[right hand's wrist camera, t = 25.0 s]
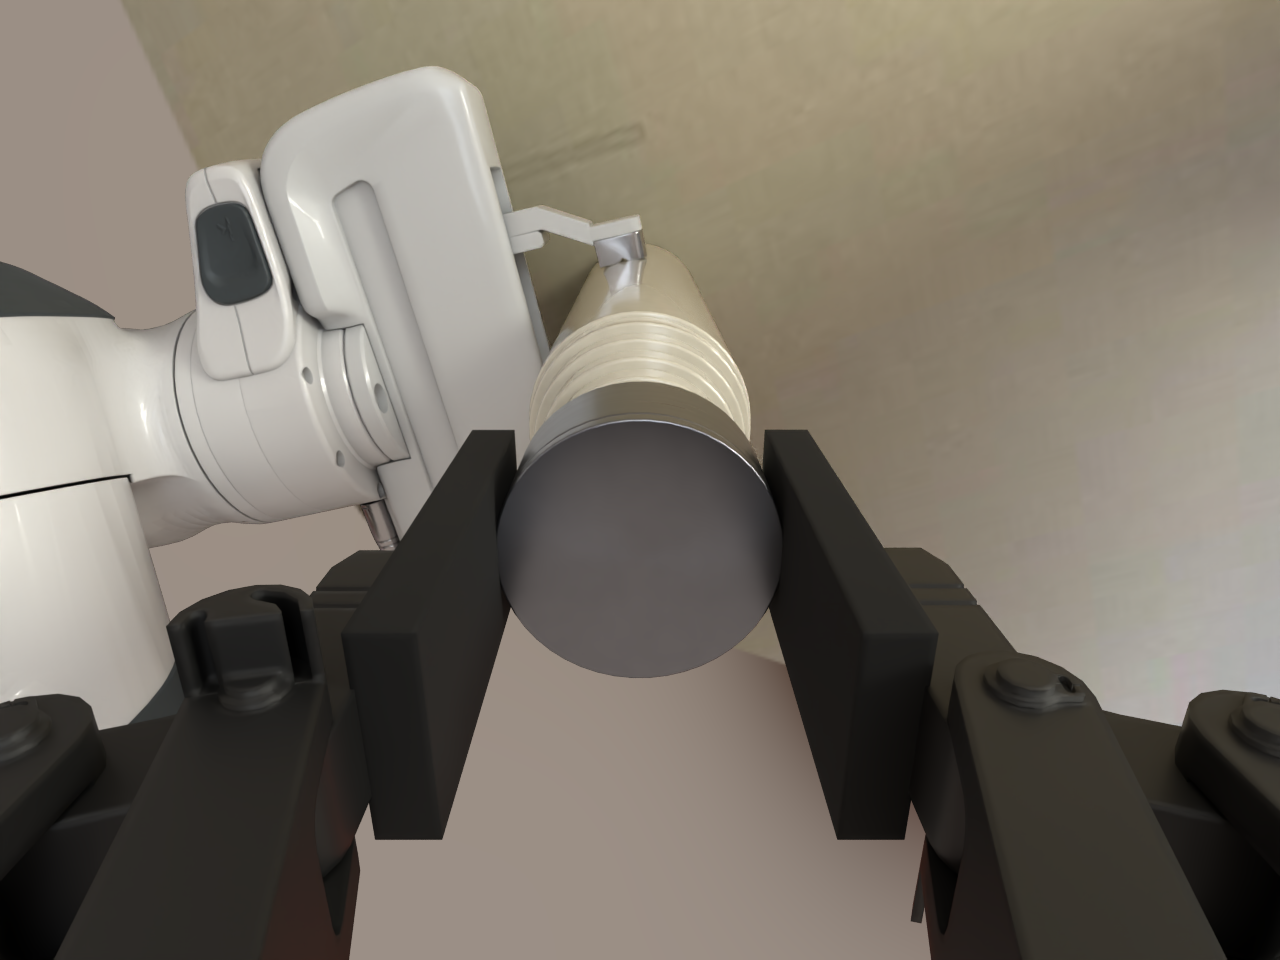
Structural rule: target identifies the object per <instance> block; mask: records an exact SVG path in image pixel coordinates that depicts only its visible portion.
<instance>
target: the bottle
mask: <svg viewBox="0 0 1280 960" xmlns="http://www.w3.org/2000/svg"><path fill="white" fill-rule="evenodd" d="M645 245H646V250H647V257H644V258H641V259H638V260H630V261H628V260H626V259H622V260H621V261H620V262H619V263H617V264H615V265H612V266H607V267H603V268H600V265H599V261H598V262H597V263H596V264H595V265H594V267H593V268H592V269H591V271H590V273H589V274H588V276H587V278H586V280H585V282H584V284H583V286H582V288H581V290H580V292H579V294H578V296H577V298H576V300H575V302H574V304H573V306H572V308H571V310H570V312H569V314H568V316H567V318H566V320H565V322H564V324H563V326H562V328H561V330H560V332H559V334H558V336H557V338H556V340H555V342H554V344H553V346H552V348H551V350H550V352H549V354H548V356H547V358H546V360H545V362H544V364H543V366H542V368H541V370H540V372H539V374H538V377H537V379H536V381H535V384H534V387H533V391H532V395H531V399H530V408H529V438H530V441H531V440H532V438H533V436H534V435H535V434H536V432H537V431H538V430H539V428H540V427H541V426H542V424H543V423H544V422H545V421H546V420H547V419H548V418H549V417H550V416H551V415H552V414H553V413H555V412H556V411H557V410H558V409H560V408H561V407H562V406H564V405H565V404H566V403H568V402H570V401H571V400H573V399H575V398H576V397H578V396H580V395H582V394H584V393H587V392H589V391H592V390H594V389H596V388H600V387H604V386H608V385H611V384H617V383H624V382H655V383H664V384H668V385H672V386H676V387H680V388H683V389H685V390H688V391H690V392H693V393H695V394H698V395H699V396H701V397H703V398H705V399H707V400H708V401H710V402H712V403H713V404H715V405H716V406H717V407H719V408H720V409H721V410H723V411H724V412H725V413H726V414H727V415H728V416H729V417H730V418H731V419H732V420H733V421H734V422H735V423H736V424H737V425H738V426H739V428H740V429H741V430H742V432H743V433H744V434H745V435H746V437H747V439H748V440H749V442H750V431H751V425H750V422H751V414H750V402H749V397H748V392H747V389H746V386H745V383H744V380H743V377H742V375H741V373H740V371H739V369H738V367H737V365H736V363H735V361H734V359H733V357H732V355H731V353H730V351H729V349H728V347H727V345H726V343H725V341H724V339H723V337H722V335H721V333H720V331H719V329H718V327H717V325H716V323H715V321H714V319H713V317H712V315H711V313H710V311H709V309H708V307H707V305H706V303H705V301H704V299H703V297H702V295H701V293H700V291H699V289H698V287H697V285H696V283H695V281H694V279H693V277H692V275H691V273H690V271H689V270H688V269H687V267H686V266H685V265H684V263H683V262H682V261H681V260H680V259H679V258H677V257H676V256H675V255H674V254H672V253H671V252H669V251H667V250H665V249H663V248H661V247H658V246H655V245H650V244H645Z"/></svg>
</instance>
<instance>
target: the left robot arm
mask: <svg viewBox="0 0 1280 960" xmlns="http://www.w3.org/2000/svg"><path fill="white" fill-rule="evenodd" d="M185 200H186V211H187V219H188V227H189V235H190V244H191V252H192V262H193V272H194V284H195V297H196V309H195V310H193V311H191V312H189V313H187V314H185V315H184V316H182V317H180V318H178V319H177V320H175V321H173V322H171V323H168V324H166V325H164V326H159V327H155V328H151V329H144V330H139V329H126V328H120V327H118V326H117V325H116V323H115V322H114V319H115V317H113V316H112V315H111V314H109V313H108V312H106V311H105V310H103V309H102V308H100V307H98V306H97V305H95V304H93V303H92V302H90V301H88V300H86V299H84V298H82V297H80V296H78V295H76V294H74V293H72V292H70V291H68V290H66V289H64V288H62V287H60V286H58V285H56V284H53V283H51V282H49V281H47V280H45V279H43V278H41V277H39V276H37V275H35V274H33V273H30V272H28V271H26V270H24V269H21V268H18V267H16V266H13V265H10V264H7V263H3V262H0V703H3V702H6V701H9V700H10V702H11V701H14V699H18V698H23V697H27V696H39V695H49V694H64V695H71V696H77V697H80V698H82V699H83V700H84V701H85V702H87V703H88V704H89V705H90V706H91V707H92V710H93V713H94V716H95V720H96V723H97V726H98V729H99V730H102V729H107V728H112V727H118V726H123V725H128V724H133V723H138V722H143V721H148V720H153V719H158V718H162V717H166V716H170V715H174V714H177V712H178V710H179V708H180V706H181V704H182V702H183V700H184V698H185V697H184V694H183V690H182V686H181V682H180V678H179V675H178V671H177V667H176V663H175V659H174V656H173V652H172V648H171V644H170V641H169V637H168V633H167V629H166V626H167V625H168V624H169V623H170V620H169V616H168V613H167V609H166V606H165V603H164V599H163V596H162V592H161V589H160V585H159V582H158V579H157V575H156V572H155V568H154V565H153V562H152V558H151V555H150V551H149V548H153V547H158V546H163V545H167V544H172V543H176V542H179V541H183V540H185V539H188V538H190V537H192V536H194V535H196V534H198V533H200V532H201V531H203V530H205V529H207V528H209V527H211V526H213V525H216V524H220V523H228V522H235V523H245V524H265V523H271V522H277V521H282V520H287V519H291V518H296V517H300V516H305V515H310V514H315V513H320V512H325V511H329V510H334V509H339V508H344V507H348V506H353V505H358V504H360V505H361V508H362V511H363V513H364V516H365V518H366V521H367V523H368V526H369V528H370V531H371V533H372V535H373V537H374V540H375V541H376V543H377V545H378V546H379V548H380V550H395V549H396V547H397V545H398V544H399V542H400V541H401V539H402V538H403V536H404V535H405V533H406V532H407V530H408V528H409V527H410V525H411V524H412V522H413V521H414V519H415V518H416V516H417V515H418V513H419V511H420V510H421V508H422V507H423V505H424V504H425V502H426V501H427V499H428V498H429V496H430V494H431V493H432V491H433V490H434V488H435V487H436V485H437V484H438V482H439V481H440V479H441V477H442V476H443V474H444V473H445V471H446V470H447V468H448V467H449V465H450V464H451V462H452V460H453V459H454V457H455V456H456V454H457V453H458V451H459V450H460V448H461V447H462V445H463V443H464V442H465V440H466V439H467V437H468V436H469V434H470V433H471V431H472V430H515V444H516V459H517V470H518V467H519V465H520V462H521V460H522V458H523V455H524V453H525V451H526V449H527V447H528V445H529V443H530V438H529V408H530V399H531V395H532V391H533V387H534V384H535V381H536V379H537V377H538V374H539V372H540V370H541V368H542V366H543V364H544V362H545V360H546V358H547V356H548V354H549V352H550V346H549V342H548V339H547V335H546V331H545V327H544V324H543V320H542V316H541V312H540V309H539V305H538V301H537V297H536V294H535V290H534V286H533V282H532V279H531V275H530V271H529V267H528V264H527V260H526V256H525V253H524V252H526V251H530V250H534V249H538V248H542V247H543V246H544V245H546V244H547V243H548V242H549V240H550V236H549V232H550V233H554V234H557V235H560V236H563V237H567V238H570V239H573V240H576V241H579V242H583V243H586V244H589V245H592V246H595V249H596V253H597V257H598V261H599V265H600V268H603V267H607V266H612V265H615V264H617V263H619V262H620V261H621V260H622V259H626V260H628V261H630V260H638V259H641V258H644V257H647V250H646V245H645V240H644V234H643V229H642V225H641V220H640V216H639V214H637V215H630V216H626V217H622V218H617V219H613V220H609V221H605V222H600V223H596V224H593V223H592V221H591V220H588V219H585V218H581V217H578V216H575V215H572V214H569V213H566V212H563V211H560V210H557V209H554V208H551V207H548V206H545V205H538V206H534V207H530V208H526V209H521V210H517V211H513V208H512V204H511V200H510V196H509V193H508V189H507V185H506V181H505V178H504V174H503V170H502V167H501V163H500V159H499V155H498V152H497V148H496V144H495V140H494V137H493V133H492V129H491V125H490V122H489V118H488V114H487V110H486V107H485V103H484V99H483V96H482V94H481V92H480V91H479V89H478V88H477V87H475V86H474V85H473V84H471V83H470V82H469V81H467V80H466V79H464V78H463V77H462V76H460V75H458V74H456V73H455V72H453V71H451V70H448V69H446V68H443V67H438V66H425V67H420V68H415V69H411V70H407V71H403V72H400V73H397V74H394V75H391V76H388V77H385V78H382V79H379V80H376V81H373V82H370V83H368V84H365V85H362V86H359V87H357V88H354V89H352V90H349V91H347V92H344V93H342V94H340V95H337V96H335V97H333V98H330V99H328V100H326V101H324V102H322V103H319V104H317V105H315V106H313V107H311V108H309V109H307V110H305V111H303V112H301V113H299V114H298V115H296V116H294V117H293V118H291V119H290V120H288V121H287V122H286V123H284V124H283V125H282V126H281V127H280V128H278V130H277V131H276V132H275V133H274V134H273V135H272V137H271V138H270V140H269V141H268V143H267V145H266V147H265V149H264V152H263V155H262V159H243V160H236V161H229V162H224V163H220V164H216V165H212V166H209V167H206V168H203V169H201V170H198V171H196V172H194V173H193V174H192V175H191V176H190V177H189V179H188V181H187V184H186V190H185Z"/></svg>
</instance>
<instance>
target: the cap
mask: <svg viewBox="0 0 1280 960" xmlns="http://www.w3.org/2000/svg"><path fill="white" fill-rule="evenodd" d="M496 539H497V553H498V566H499V578H500V584H501V586H502V589H503V591H504V594H505V597H506V599H507V601H508V603H509V604H510V606H511V608H512V610H513V611H514V613H515V615H516V616H517V617H518V619H519V620H520V621H521V623H522V624H523V625H524V627H525V628H526V629H527V630H528V631H529V632H530V633H531V634H532V635H533V636H534V637H535V638H536V639H537V640H538V641H539V642H541V643H542V644H543V645H544V646H546V647H547V648H548V649H549V650H551V651H552V652H554V653H556V654H557V655H559V656H560V657H562V658H564V659H565V660H567V661H570V662H572V663H574V664H576V665H578V666H580V667H583V668H586V669H589V670H592V671H595V672H598V673H603V674H608V675H612V676H619V677H629V678H652V677H660V676H668V675H672V674H676V673H681V672H685V671H688V670H690V669H694V668H696V667H699V666H702V665H704V664H706V663H708V662H710V661H712V660H714V659H716V658H718V657H719V656H721V655H722V654H724V653H726V652H727V651H729V650H730V649H732V648H733V647H734V646H735V645H737V644H738V643H739V642H740V641H741V640H743V639H744V638H745V637H746V636H747V635H748V634H749V633H750V631H751V630H752V629H753V628H754V627H755V626H756V625H757V624H758V622H759V621H760V619H761V618H762V617H763V615H764V614H765V613H766V611H767V609H768V607H769V605H770V603H771V602H772V600H773V598H774V596H775V593H776V590H777V588H778V585H779V582H780V573H781V561H782V547H783V526H782V522H781V518H780V513H779V511H778V508H777V506H776V503H775V501H774V498H773V496H772V493H771V491H770V488H769V486H768V483H767V481H766V478H765V476H764V474H763V471H762V469H761V466H760V464H759V461H758V459H757V456H756V454H755V451H754V449H753V448H752V446H751V444H750V442H749V440H748V439H747V437H746V435H745V434H744V433H743V432H742V430H741V429H740V428H739V426H738V425H737V424H736V423H735V422H734V421H733V420H732V419H731V418H730V417H729V416H728V415H727V414H726V413H725V412H724V411H723V410H721V409H720V408H719V407H717V406H716V405H715V404H713V403H712V402H710V401H708V400H707V399H705V398H703V397H701V396H699V395H698V394H695V393H693V392H690V391H688V390H685V389H683V388H680V387H676V386H672V385H668V384H664V383H655V382H624V383H617V384H611V385H608V386H604V387H600V388H596V389H594V390H592V391H589V392H587V393H584V394H582V395H580V396H578V397H576V398H575V399H573V400H571V401H570V402H568V403H566V404H565V405H564V406H562V407H561V408H560V409H558V410H557V411H556V412H555V413H553V414H552V415H551V416H550V417H549V418H548V419H547V420H546V421H545V422H544V423H543V424H542V426H541V427H540V428H539V430H538V431H537V432H536V434H535V435H534V436H533V438H532V440H531V441H530V443H529V445H528V447H527V449H526V451H525V453H524V455H523V458H522V460H521V462H520V465H519V467H518V470H517V472H516V475H515V477H514V479H513V482H512V484H511V487H510V489H509V492H508V494H507V496H506V499H505V502H504V504H503V507H502V510H501V512H500V515H499V520H498V524H497V529H496Z"/></svg>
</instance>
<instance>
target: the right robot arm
mask: <svg viewBox="0 0 1280 960" xmlns="http://www.w3.org/2000/svg"><path fill="white" fill-rule="evenodd" d="M762 471H763V474H764V476H765V478H766V481H767V483H768V486H769V488H770V491H771V493H772V496H773V498H774V501H775V503H776V506H777V508H778V511H779V513H780V518H781V522H782V526H783V547H782V561H781V573H780V582H779V585H778V588H777V590H776V593H775V596H774V598H773V600H772V602H771V603H770V605H769V610H770V613H771V616H772V620H773V623H774V626H775V630H776V633H777V637H778V640H779V643H780V647H781V650H782V654H783V657H784V660H785V664H786V667H787V670H788V674H789V677H790V681H791V684H792V687H793V691H794V694H795V698H796V701H797V704H798V708H799V711H800V715H801V718H802V721H803V725H804V728H805V731H806V735H807V738H808V742H809V745H810V748H811V752H812V755H813V759H814V762H815V765H816V769H817V772H818V776H819V779H820V782H821V786H822V789H823V792H824V796H825V799H826V803H827V806H828V809H829V813H830V816H831V820H832V823H833V826H834V830H835V833H836V836H837V839H838V840H904V839H905V833H906V827H907V821H908V815H909V809H910V803H911V801H912V803H913V805H914V808H915V810H916V812H917V814H918V817H919V819H920V821H921V824H922V826H923V828H924V831H925V833H926V835H925V841H924V846H923V852H922V857H921V863H920V868H919V874H918V880H917V885H916V891H915V896H914V902H913V909H912V916H911V921H913V922H917V923H921V922H922V917H923V912H924V907H925V914H926V922H927V930H928V938H929V946H930V953H931V960H1280V699H1277V698H1274V697H1270V698H1269V697H1267V695H1262V694H1257V693H1252V692H1239V691H1229V690H1218V691H1212V692H1205V693H1201V694H1199V695H1198V696H1197V697H1196V698H1194V699H1193V700H1192V701H1191V702H1189V705H1188V708H1187V711H1186V715H1185V718H1184V721H1183V724H1182V727H1181V726H1176V725H1170V724H1165V723H1160V722H1155V721H1150V720H1145V719H1140V718H1135V717H1130V716H1125V715H1120V714H1116V713H1112V712H1108V711H1104V710H1102V709H1101V707H1100V705H1099V703H1098V701H1097V699H1096V697H1095V696H1094V694H1093V693H1092V692H1091V691H1090V689H1089V688H1088V687H1087V686H1086V685H1085V683H1084V682H1083V681H1082V680H1080V679H1079V678H1077V677H1076V676H1074V675H1073V674H1071V673H1070V672H1068V671H1067V670H1065V669H1064V668H1062V667H1060V666H1058V665H1056V664H1053V663H1051V662H1048V661H1046V660H1043V659H1041V658H1039V657H1036V656H1031V655H1027V654H1022V653H1017V652H1016V651H1015V649H1014V648H1013V647H1012V645H1011V644H1010V643H1009V642H1008V640H1007V639H1006V638H1005V636H1004V635H1003V634H1002V633H1001V631H1000V630H999V629H998V628H997V626H996V625H995V624H994V622H993V621H992V620H991V619H990V617H989V616H988V615H987V613H986V612H985V611H984V610H983V608H982V607H981V606H980V605H977V601H976V599H975V598H974V597H973V596H972V594H971V593H970V592H969V591H968V589H967V588H964V584H963V583H962V582H961V580H960V579H959V578H958V576H957V575H956V574H955V573H954V571H953V570H952V569H951V568H950V566H949V565H948V564H946V563H945V562H943V561H941V560H940V559H938V558H936V557H935V556H933V555H932V554H930V553H928V552H927V551H925V550H923V549H922V548H883V546H882V545H881V543H880V542H879V540H878V538H877V537H876V535H875V534H874V532H873V531H872V529H871V528H870V526H869V524H868V523H867V521H866V520H865V518H864V517H863V515H862V514H861V512H860V511H859V509H858V507H857V506H856V504H855V503H854V501H853V500H852V498H851V497H850V495H849V494H848V492H847V490H846V489H845V487H844V486H843V484H842V483H841V481H840V480H839V478H838V477H837V475H836V473H835V472H834V470H833V469H832V467H831V466H830V464H829V463H828V461H827V460H826V458H825V456H824V455H823V453H822V452H821V450H820V449H819V447H818V446H817V444H816V443H815V441H814V439H813V438H812V436H811V435H810V433H809V432H808V430H765V437H764V453H763V469H762ZM516 472H517V459H516V444H515V430H472V431H471V433H470V434H469V436H468V437H467V439H466V440H465V442H464V443H463V445H462V447H461V448H460V450H459V451H458V453H457V454H456V456H455V457H454V459H453V460H452V462H451V464H450V465H449V467H448V468H447V470H446V471H445V473H444V474H443V476H442V477H441V479H440V481H439V482H438V484H437V485H436V487H435V488H434V490H433V491H432V493H431V494H430V496H429V498H428V499H427V501H426V502H425V504H424V505H423V507H422V508H421V510H420V511H419V513H418V515H417V516H416V518H415V519H414V521H413V522H412V524H411V525H410V527H409V528H408V530H407V532H406V533H405V535H404V536H403V538H402V539H401V541H400V542H399V544H398V545H397V547H396V549H395V550H360V551H357V552H356V553H354V554H353V555H351V556H349V557H348V558H346V559H344V560H343V561H341V562H340V563H338V564H336V565H335V566H333V567H332V568H331V569H330V570H329V572H328V573H327V574H326V575H325V577H324V578H323V579H322V581H321V582H320V583H319V584H318V586H317V587H316V591H313V592H312V593H311V595H310V596H309V595H308V594H306V593H305V592H304V591H302V590H301V589H298V588H293V587H289V586H284V585H254V586H248V587H243V588H238V589H233V590H228V591H225V592H222V593H219V594H216V595H213V596H211V597H208V598H205V599H202V600H200V601H199V602H197V603H195V604H193V605H191V606H190V607H188V608H186V609H184V610H183V611H181V612H179V613H178V614H177V616H175V617H174V618H173V620H172V621H171V622H170V623H169V624H168V625H167V626H166V629H167V633H168V637H169V641H170V644H171V648H172V652H173V656H174V659H175V663H176V667H177V671H178V675H179V678H180V682H181V686H182V690H183V694H184V697H185V698H184V700H183V702H182V704H181V706H180V708H179V710H178V712H177V714H174V715H170V716H166V717H162V718H158V719H153V720H148V721H143V722H138V723H133V724H128V725H123V726H118V727H112V728H107V729H102V730H99V729H98V726H97V723H96V720H95V716H94V713H93V710H92V707H91V706H90V705H89V704H88V703H87V702H85V701H84V700H83V699H82V698H80V697H77V696H71V695H64V694H49V695H39V696H27V697H23V698H18V699H14V701H11V702H10V700H9V701H6V702H3V703H0V960H349V956H350V948H351V939H352V932H353V924H354V916H355V908H356V900H357V892H358V883H359V876H360V866H359V858H358V852H357V846H356V841H355V834H356V832H357V829H358V827H359V824H360V822H361V820H362V818H363V815H364V813H365V810H366V808H367V806H368V804H369V806H370V812H371V818H372V824H373V830H374V836H375V839H376V840H442V838H443V835H444V832H445V828H446V825H447V821H448V818H449V814H450V811H451V808H452V805H453V801H454V798H455V794H456V791H457V788H458V784H459V781H460V777H461V774H462V771H463V767H464V764H465V761H466V757H467V754H468V750H469V747H470V744H471V740H472V737H473V733H474V730H475V727H476V723H477V720H478V717H479V713H480V710H481V706H482V703H483V700H484V696H485V693H486V689H487V686H488V683H489V679H490V676H491V673H492V669H493V666H494V662H495V659H496V656H497V652H498V649H499V645H500V642H501V639H502V635H503V632H504V628H505V625H506V622H507V618H508V615H509V612H510V608H511V606H510V604H509V603H508V601H507V599H506V597H505V594H504V591H503V589H502V586H501V584H500V578H499V566H498V553H497V539H496V529H497V524H498V520H499V515H500V512H501V510H502V507H503V504H504V502H505V499H506V496H507V494H508V492H509V489H510V487H511V484H512V482H513V479H514V477H515V475H516Z"/></svg>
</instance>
